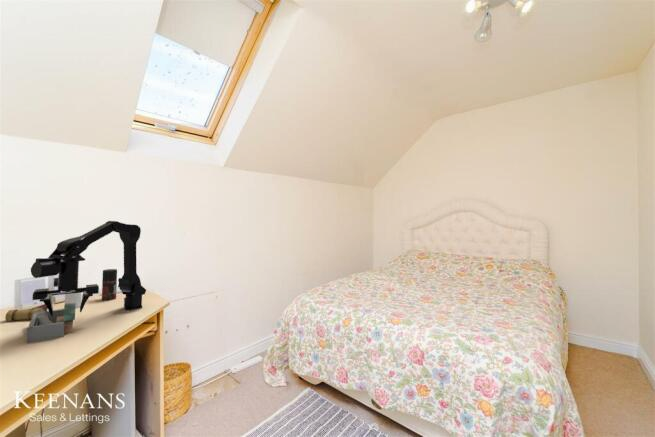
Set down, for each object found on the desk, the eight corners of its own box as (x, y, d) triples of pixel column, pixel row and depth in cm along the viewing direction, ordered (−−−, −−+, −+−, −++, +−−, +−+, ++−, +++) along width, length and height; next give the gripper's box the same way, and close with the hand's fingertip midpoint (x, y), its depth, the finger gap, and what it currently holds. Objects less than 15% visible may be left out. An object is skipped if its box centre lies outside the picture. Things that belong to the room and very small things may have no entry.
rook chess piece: (45, 327, 110) (39, 308, 109) (58, 325, 111) (52, 306, 109) (35, 334, 106) (28, 313, 105) (48, 331, 106) (42, 311, 105)
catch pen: (65, 320, 119) (65, 308, 119) (63, 336, 104) (64, 322, 104) (33, 325, 113) (34, 312, 113) (26, 343, 98) (27, 328, 98)
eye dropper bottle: (67, 306, 135) (68, 281, 135) (82, 305, 138) (83, 280, 138) (63, 309, 131) (63, 283, 131) (78, 308, 134) (79, 282, 134)
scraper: (75, 321, 119) (75, 299, 119) (74, 332, 108) (75, 308, 108) (57, 324, 115) (57, 301, 115) (54, 336, 104) (55, 311, 104)
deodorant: (104, 297, 152) (105, 269, 152) (117, 297, 154) (118, 268, 154) (99, 300, 146) (100, 271, 146) (113, 300, 148) (114, 271, 148)
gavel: (37, 300, 135) (64, 298, 138) (37, 310, 134) (63, 308, 138) (5, 311, 115) (37, 309, 118) (4, 323, 115) (36, 321, 118)
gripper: (98, 268, 124) (96, 304, 124) (36, 272, 112) (34, 312, 112) (99, 272, 115) (97, 311, 115) (33, 277, 103) (31, 320, 103)
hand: (66, 313), depth 112 cm, fingers open, 8 cm apart
